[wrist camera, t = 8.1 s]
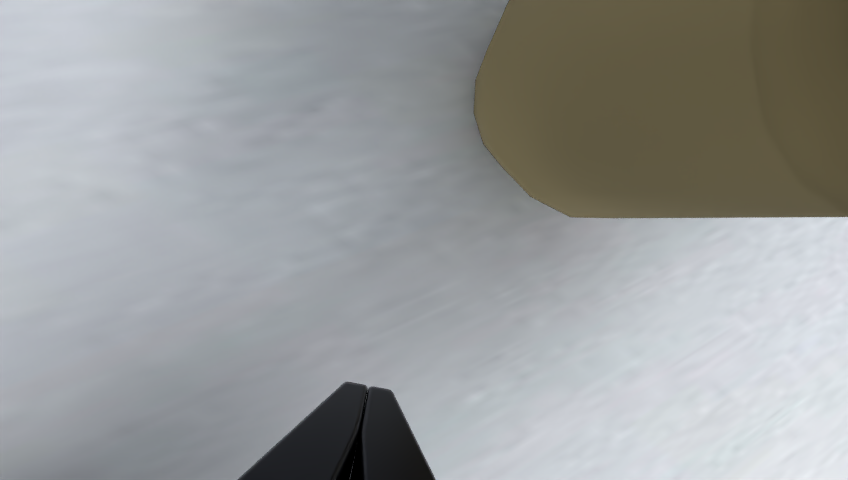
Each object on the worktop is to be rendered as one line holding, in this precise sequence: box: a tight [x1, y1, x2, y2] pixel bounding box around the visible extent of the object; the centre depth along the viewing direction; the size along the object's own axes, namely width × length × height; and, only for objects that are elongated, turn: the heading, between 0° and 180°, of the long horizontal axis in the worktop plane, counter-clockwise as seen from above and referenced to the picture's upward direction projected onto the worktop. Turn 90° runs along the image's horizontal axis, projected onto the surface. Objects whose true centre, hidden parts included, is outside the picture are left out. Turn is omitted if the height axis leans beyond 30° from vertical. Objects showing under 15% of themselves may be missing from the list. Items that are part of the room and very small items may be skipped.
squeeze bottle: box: [474, 0, 848, 218], centre depth 11 cm, size 8×8×18 cm
